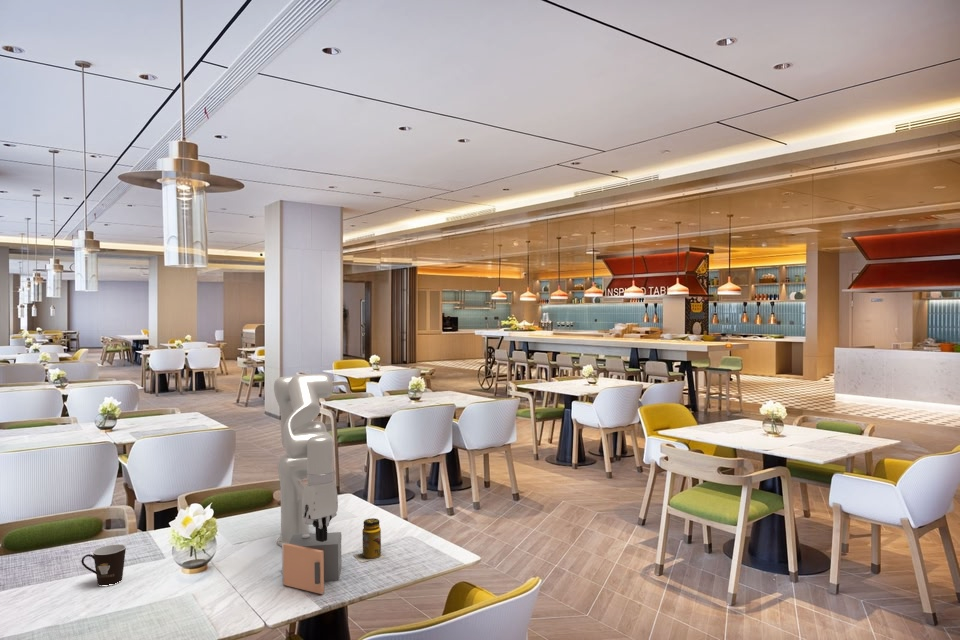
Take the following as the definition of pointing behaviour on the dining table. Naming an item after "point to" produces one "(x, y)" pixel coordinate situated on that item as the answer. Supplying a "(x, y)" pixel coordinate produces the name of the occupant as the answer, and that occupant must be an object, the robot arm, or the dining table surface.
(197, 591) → the dining table surface
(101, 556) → the coffee mug
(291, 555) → the door
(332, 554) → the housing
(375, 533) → the condiment
